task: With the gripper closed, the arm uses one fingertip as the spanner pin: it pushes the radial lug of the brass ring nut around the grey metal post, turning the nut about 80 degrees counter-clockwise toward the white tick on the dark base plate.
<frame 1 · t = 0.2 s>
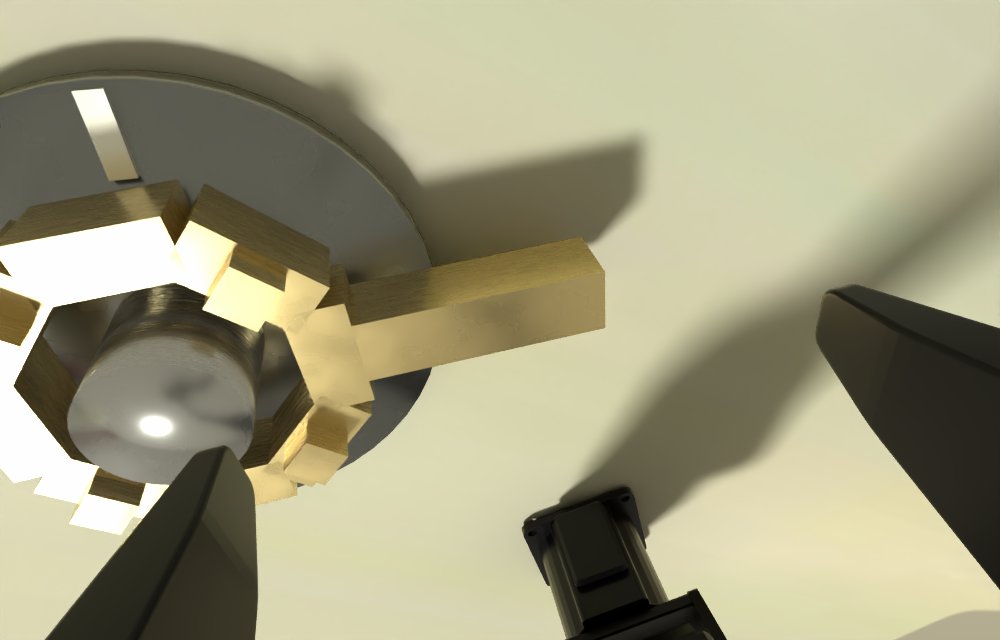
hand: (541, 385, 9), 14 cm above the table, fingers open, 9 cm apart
cap plate: (195, 323, 23), on the table
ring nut: (308, 352, 21), point 3 cm above the table, hinge at 0.0°
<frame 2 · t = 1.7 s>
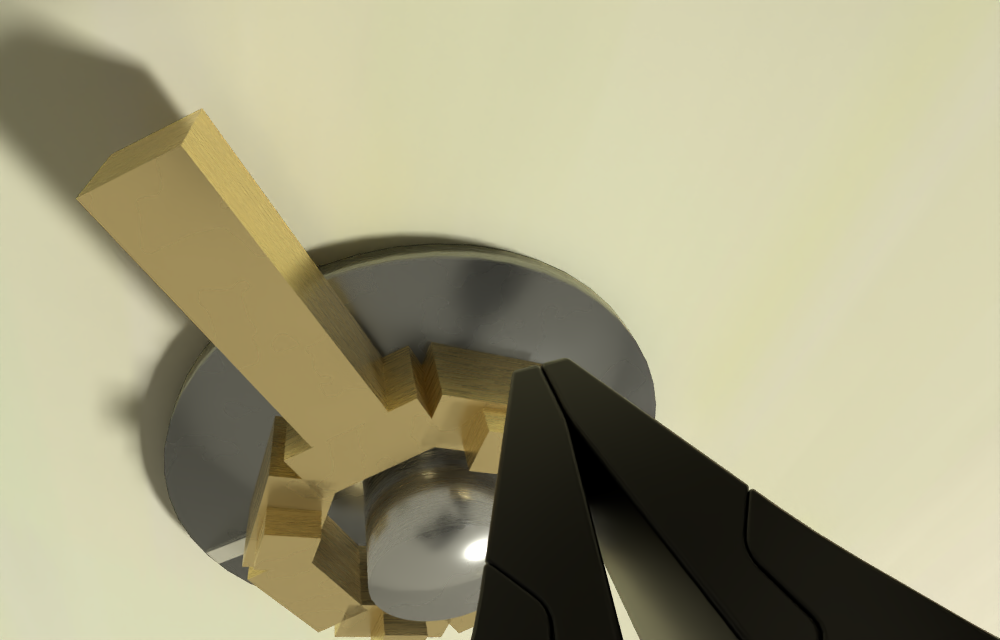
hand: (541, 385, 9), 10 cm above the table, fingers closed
cap plate: (427, 450, 24), on the table
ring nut: (378, 447, 19), point 3 cm above the table, hinge at 0.0°
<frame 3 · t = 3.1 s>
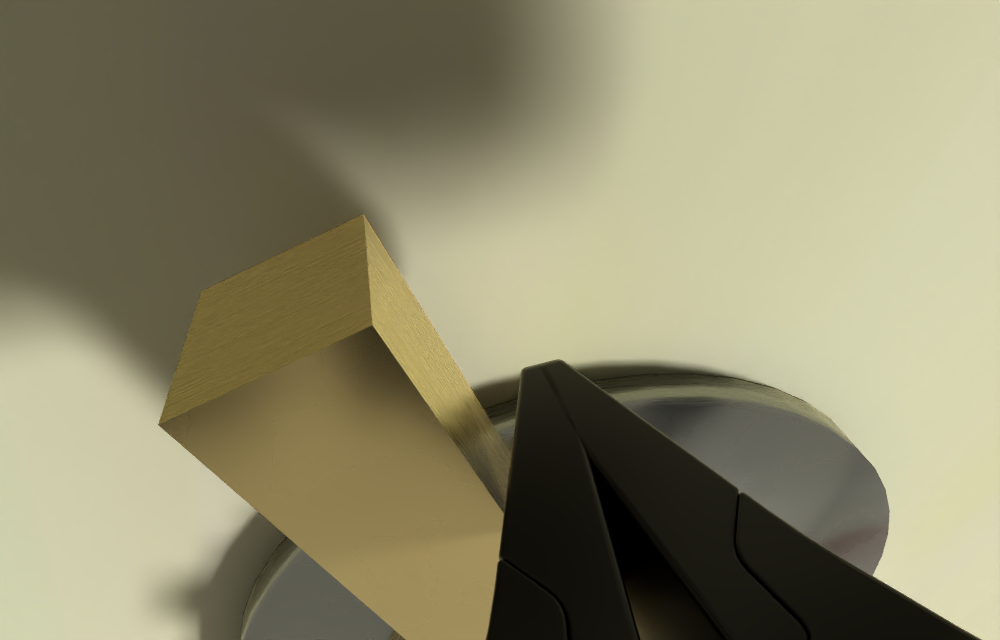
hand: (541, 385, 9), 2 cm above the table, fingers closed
cap plate: (573, 612, 18), on the table
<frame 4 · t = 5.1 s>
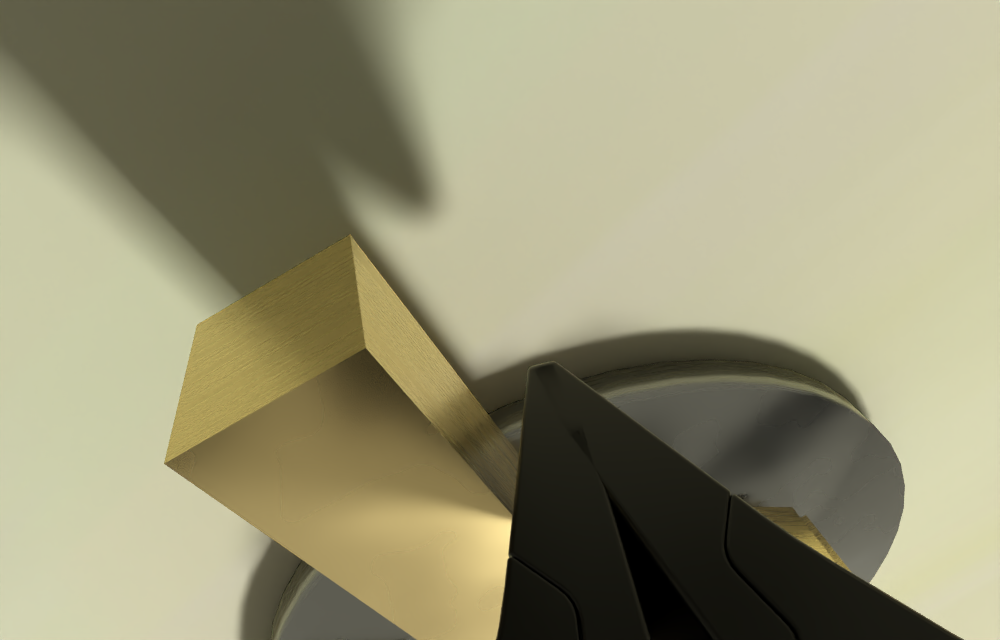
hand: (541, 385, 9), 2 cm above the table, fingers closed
cap plate: (597, 604, 18), on the table
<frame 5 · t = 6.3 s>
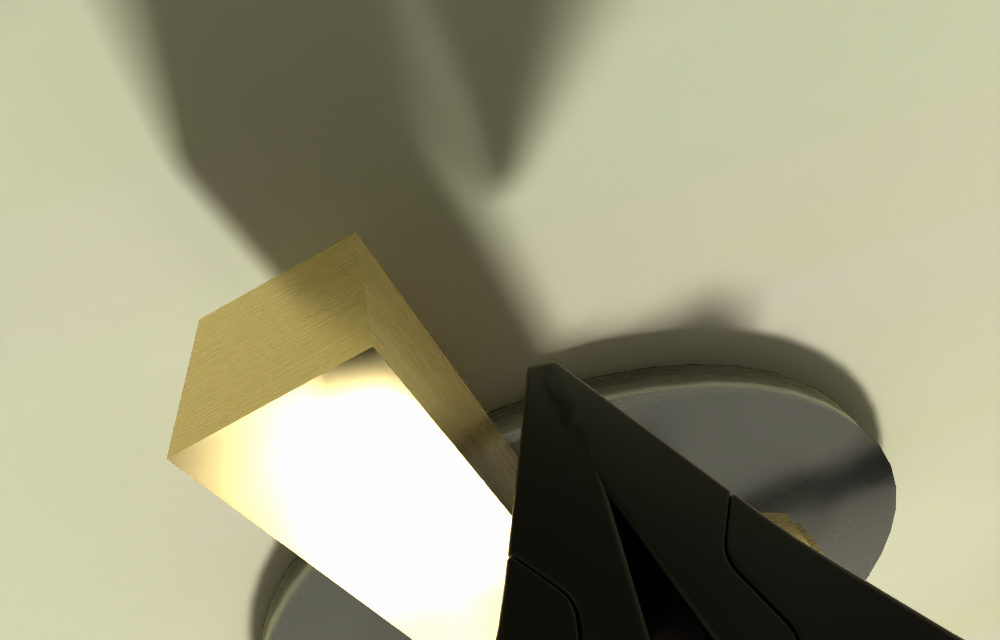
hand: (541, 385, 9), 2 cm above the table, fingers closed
cap plate: (589, 606, 18), on the table
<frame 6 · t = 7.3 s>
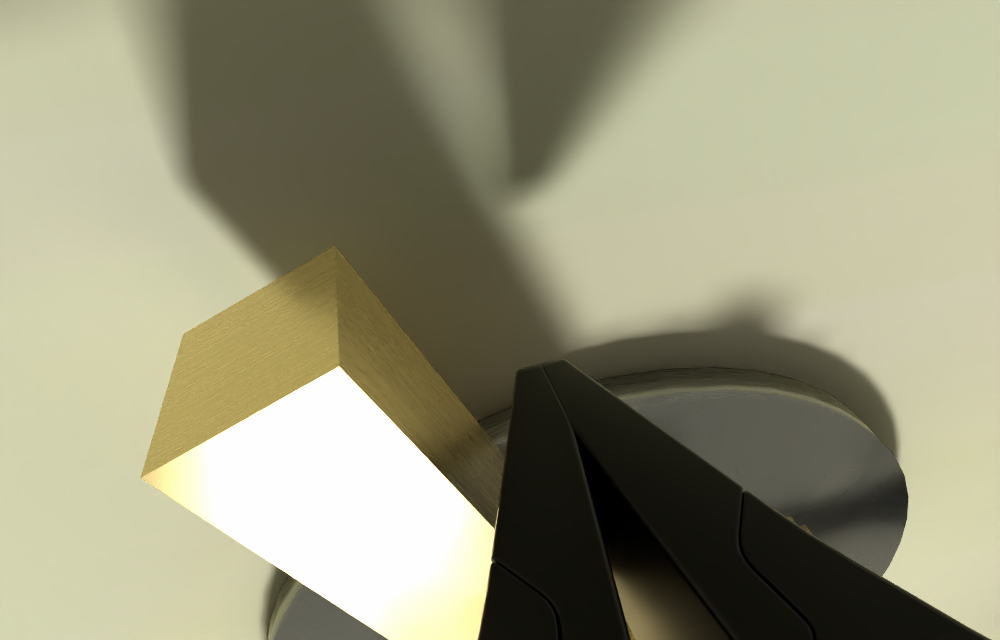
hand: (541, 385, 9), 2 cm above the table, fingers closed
cap plate: (594, 607, 18), on the table
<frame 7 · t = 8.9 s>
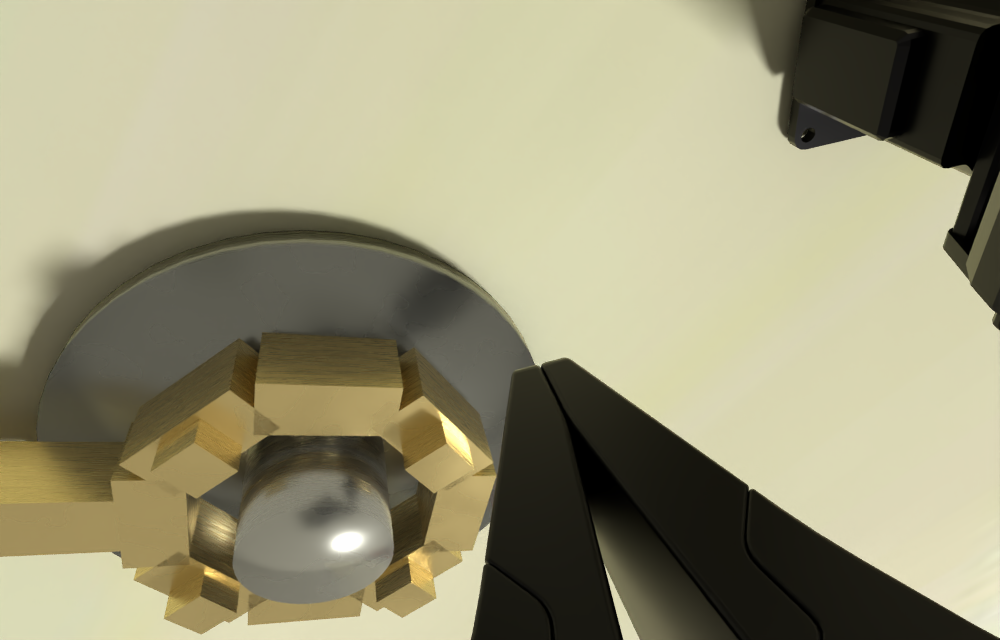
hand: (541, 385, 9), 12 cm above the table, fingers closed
cap plate: (317, 437, 25), on the table
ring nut: (183, 506, 21), point 3 cm above the table, hinge at 78.4°
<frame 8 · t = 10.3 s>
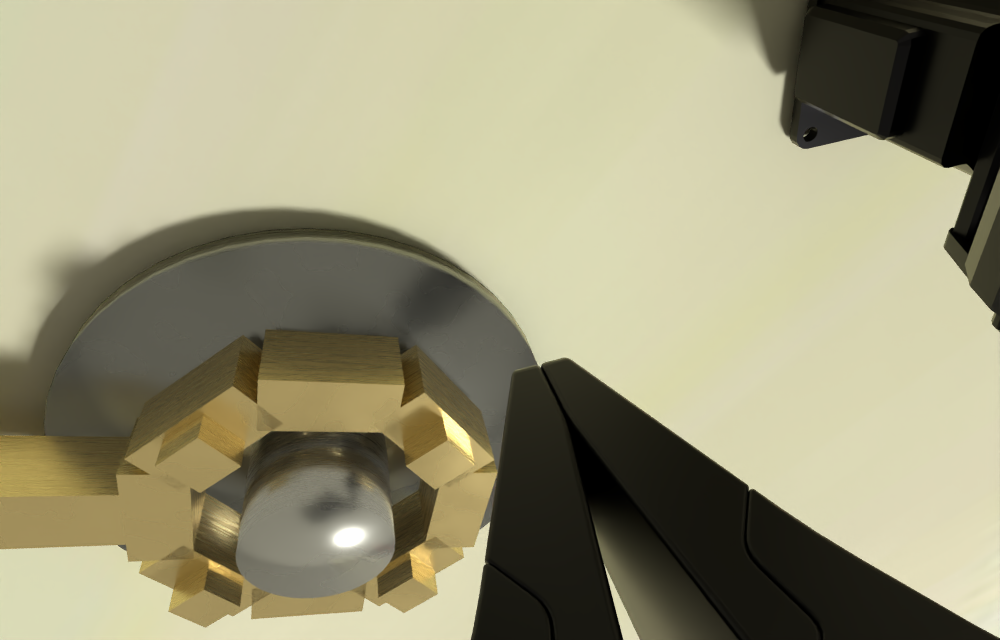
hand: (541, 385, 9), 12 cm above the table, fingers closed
cap plate: (321, 433, 25), on the table
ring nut: (187, 500, 21), point 3 cm above the table, hinge at 78.4°
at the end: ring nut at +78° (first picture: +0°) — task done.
